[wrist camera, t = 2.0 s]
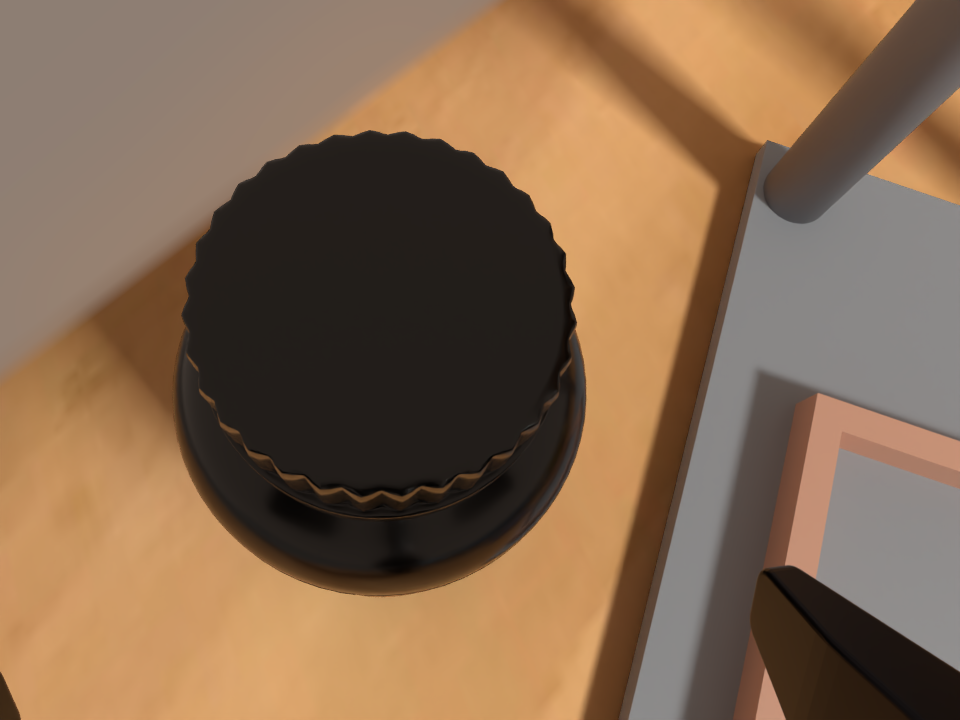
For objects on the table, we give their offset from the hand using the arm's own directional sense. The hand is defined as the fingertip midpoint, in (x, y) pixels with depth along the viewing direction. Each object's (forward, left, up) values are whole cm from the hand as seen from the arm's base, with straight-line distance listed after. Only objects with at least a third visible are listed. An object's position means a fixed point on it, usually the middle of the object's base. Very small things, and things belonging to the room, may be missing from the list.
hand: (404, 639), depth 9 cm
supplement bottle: (+4, +2, -11) cm, 12 cm away
